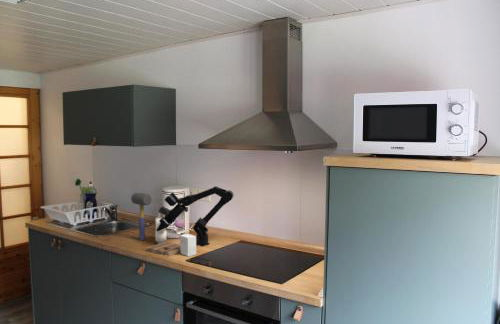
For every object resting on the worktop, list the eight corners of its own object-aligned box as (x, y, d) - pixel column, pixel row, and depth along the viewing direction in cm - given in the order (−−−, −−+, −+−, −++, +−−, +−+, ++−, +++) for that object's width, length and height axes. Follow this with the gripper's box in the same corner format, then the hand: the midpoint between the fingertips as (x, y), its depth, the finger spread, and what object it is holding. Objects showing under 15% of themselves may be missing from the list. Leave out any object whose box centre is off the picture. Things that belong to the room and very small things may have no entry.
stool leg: (169, 243, 248) (168, 217, 247) (160, 245, 243) (160, 219, 242) (161, 241, 252) (160, 216, 251) (153, 244, 247) (152, 218, 246)
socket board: (187, 249, 234) (187, 246, 234) (168, 256, 221) (168, 252, 221) (165, 245, 244) (165, 242, 244) (146, 251, 232) (146, 247, 231)
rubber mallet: (153, 240, 255) (152, 193, 253) (143, 243, 249) (143, 194, 247) (140, 237, 262) (139, 191, 261) (131, 240, 256) (130, 192, 254)
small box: (196, 254, 224) (196, 236, 224) (187, 256, 221) (187, 237, 220) (188, 251, 230) (188, 233, 230) (180, 253, 227) (179, 235, 226)
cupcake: (179, 231, 279) (178, 217, 278) (189, 233, 275) (189, 218, 274) (171, 234, 271) (170, 219, 270) (181, 235, 267) (181, 220, 266)
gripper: (170, 199, 255) (153, 217, 256) (162, 204, 236) (144, 223, 238) (183, 212, 255) (166, 229, 256) (176, 218, 236) (157, 236, 238)
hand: (158, 229), depth 247 cm, fingers closed on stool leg, 6 cm apart
